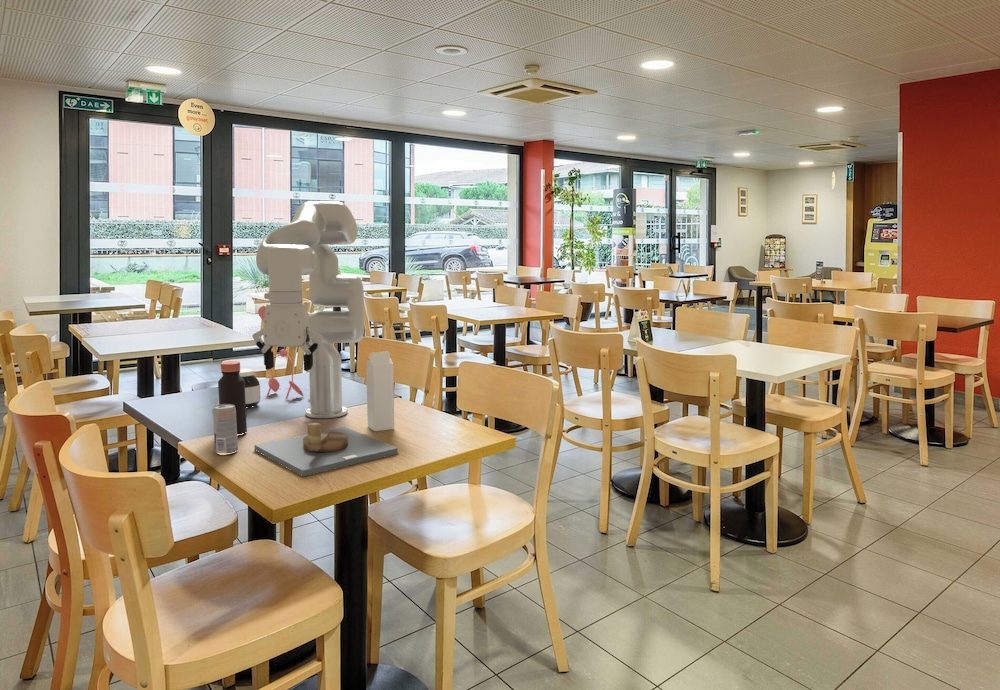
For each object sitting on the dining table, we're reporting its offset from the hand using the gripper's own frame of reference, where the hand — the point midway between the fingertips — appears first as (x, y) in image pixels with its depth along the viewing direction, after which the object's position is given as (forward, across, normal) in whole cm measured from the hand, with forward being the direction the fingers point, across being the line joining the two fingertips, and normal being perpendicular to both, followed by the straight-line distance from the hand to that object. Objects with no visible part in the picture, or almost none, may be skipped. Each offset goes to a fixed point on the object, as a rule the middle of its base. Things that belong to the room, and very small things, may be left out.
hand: (288, 369), depth 170 cm
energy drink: (+23, -18, +2) cm, 29 cm away
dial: (+21, +6, +4) cm, 22 cm away
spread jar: (+22, -38, +47) cm, 64 cm away
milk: (+23, +13, +30) cm, 40 cm away
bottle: (+23, -24, +18) cm, 38 cm away
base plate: (+22, +6, +6) cm, 24 cm away
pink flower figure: (+22, -29, +66) cm, 75 cm away
